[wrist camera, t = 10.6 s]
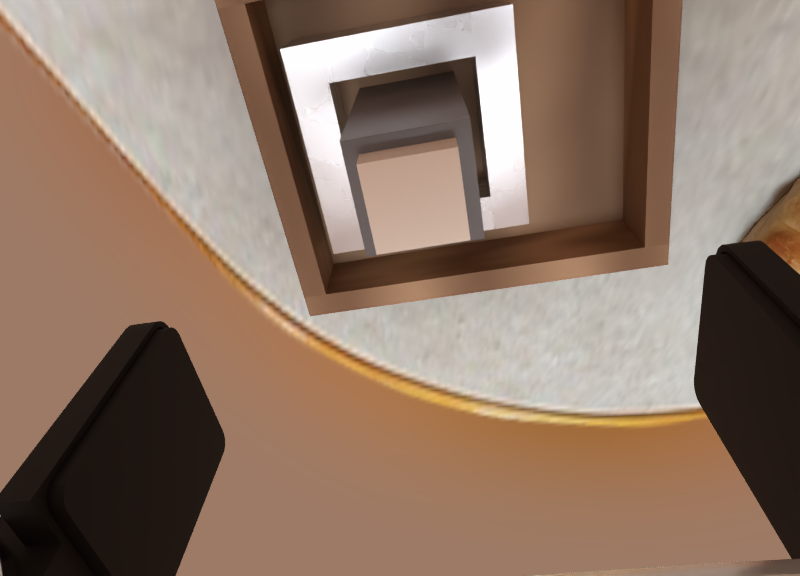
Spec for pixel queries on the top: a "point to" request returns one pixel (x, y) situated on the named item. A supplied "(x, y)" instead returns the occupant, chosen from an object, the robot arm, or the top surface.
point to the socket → (402, 49)
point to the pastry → (782, 228)
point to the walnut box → (542, 141)
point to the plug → (412, 165)
